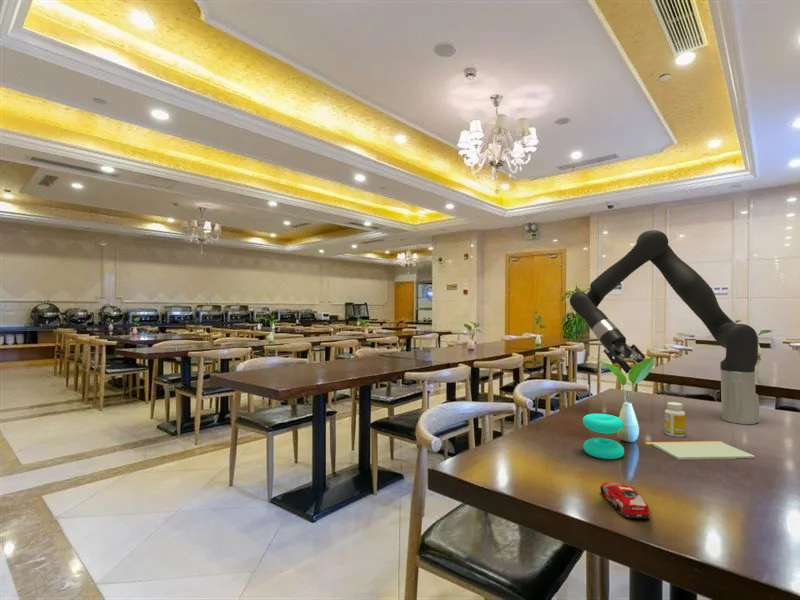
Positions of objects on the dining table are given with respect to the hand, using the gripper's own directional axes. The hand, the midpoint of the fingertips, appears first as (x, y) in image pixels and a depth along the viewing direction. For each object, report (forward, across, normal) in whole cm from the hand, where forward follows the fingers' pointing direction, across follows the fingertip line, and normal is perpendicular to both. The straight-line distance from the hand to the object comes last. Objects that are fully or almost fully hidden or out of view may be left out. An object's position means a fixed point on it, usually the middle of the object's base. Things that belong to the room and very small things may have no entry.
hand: (638, 371), depth 141 cm
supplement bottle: (+21, 0, +4) cm, 22 cm away
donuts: (+23, -34, +3) cm, 41 cm away
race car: (+39, -55, -12) cm, 68 cm away
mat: (+30, -9, -5) cm, 32 cm away
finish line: (+26, -6, 0) cm, 26 cm away
